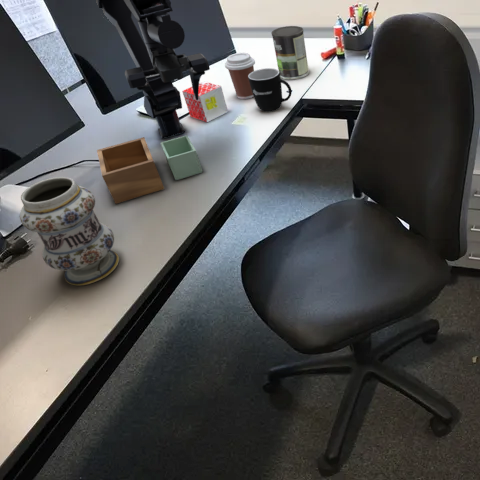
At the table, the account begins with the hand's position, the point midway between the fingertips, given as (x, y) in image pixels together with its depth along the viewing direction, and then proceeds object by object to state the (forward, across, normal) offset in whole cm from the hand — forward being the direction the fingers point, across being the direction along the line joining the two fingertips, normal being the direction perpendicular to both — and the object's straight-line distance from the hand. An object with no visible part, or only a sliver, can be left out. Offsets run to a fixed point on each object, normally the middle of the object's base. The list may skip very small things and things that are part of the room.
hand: (178, 104), depth 121 cm
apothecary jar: (+12, -28, -38) cm, 49 cm away
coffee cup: (+12, +23, +25) cm, 36 cm away
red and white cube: (+12, +9, +18) cm, 24 cm away
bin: (+12, -4, -10) cm, 16 cm away
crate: (+12, -16, -10) cm, 22 cm away
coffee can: (+12, +42, +32) cm, 54 cm away
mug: (+12, +27, +10) cm, 31 cm away
